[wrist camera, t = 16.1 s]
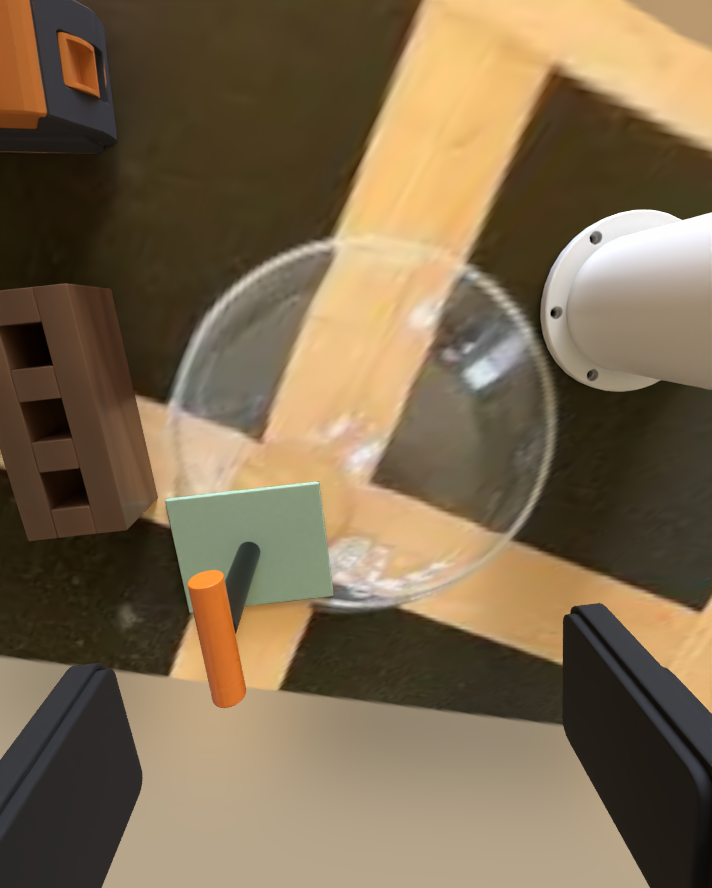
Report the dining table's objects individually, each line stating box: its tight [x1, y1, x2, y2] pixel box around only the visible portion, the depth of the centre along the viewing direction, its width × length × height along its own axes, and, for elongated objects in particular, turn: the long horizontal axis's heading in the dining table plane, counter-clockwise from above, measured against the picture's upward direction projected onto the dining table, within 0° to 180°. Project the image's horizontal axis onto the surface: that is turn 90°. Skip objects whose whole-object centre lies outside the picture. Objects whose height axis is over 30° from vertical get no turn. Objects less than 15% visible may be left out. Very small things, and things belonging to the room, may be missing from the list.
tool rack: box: [0, 283, 158, 541], centre depth 33 cm, size 7×16×6 cm, turn 6°
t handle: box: [188, 542, 260, 708], centre depth 33 cm, size 2×8×12 cm, turn 6°
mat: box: [165, 481, 333, 613], centre depth 40 cm, size 12×10×1 cm
